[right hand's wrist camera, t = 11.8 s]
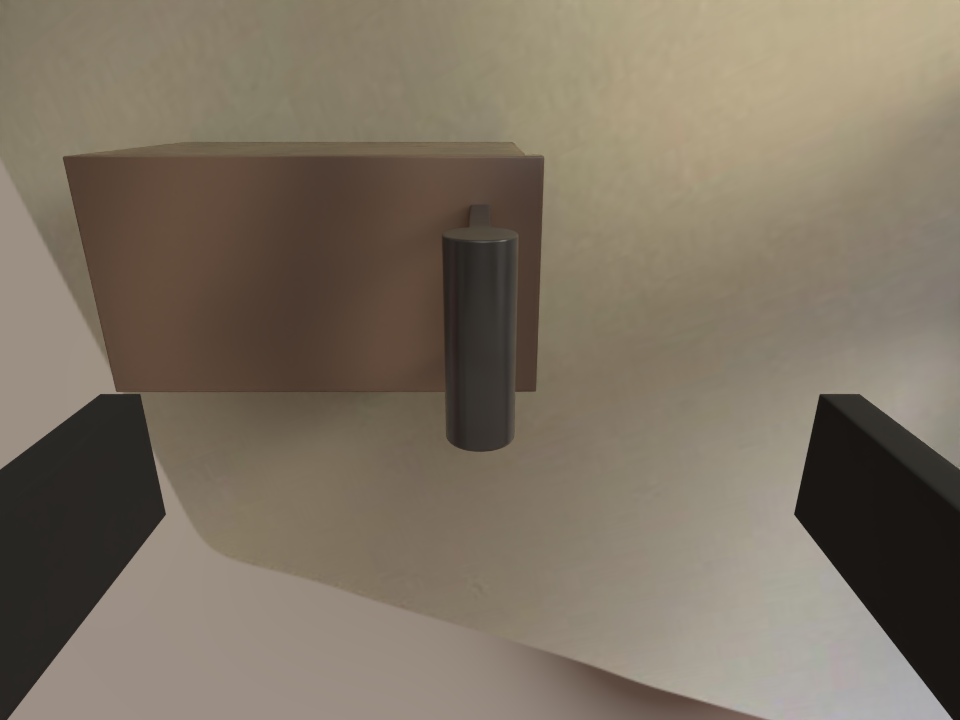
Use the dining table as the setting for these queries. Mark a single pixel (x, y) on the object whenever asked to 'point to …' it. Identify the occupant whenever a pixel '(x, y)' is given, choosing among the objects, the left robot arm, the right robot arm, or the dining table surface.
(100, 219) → the lid
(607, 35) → the dining table surface
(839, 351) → the dining table surface
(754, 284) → the dining table surface
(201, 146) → the chest
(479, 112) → the dining table surface
